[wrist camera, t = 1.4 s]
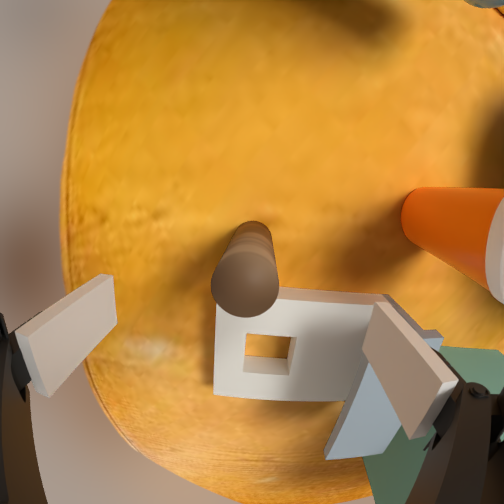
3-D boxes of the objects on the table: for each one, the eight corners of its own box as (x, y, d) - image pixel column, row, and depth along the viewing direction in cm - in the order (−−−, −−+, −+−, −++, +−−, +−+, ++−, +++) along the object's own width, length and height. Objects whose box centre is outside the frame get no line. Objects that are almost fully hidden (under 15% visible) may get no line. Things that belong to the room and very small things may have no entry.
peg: (235, 219, 29) (212, 250, 16) (273, 222, 29) (283, 257, 16) (232, 255, 30) (209, 313, 17) (269, 259, 30) (274, 320, 17)
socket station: (222, 272, 31) (198, 327, 19) (390, 286, 31) (444, 337, 18) (217, 382, 35) (201, 453, 23) (357, 388, 34) (382, 453, 22)
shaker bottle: (410, 266, 30) (524, 349, 11) (381, 202, 28) (519, 238, 9) (458, 229, 28) (577, 276, 9) (434, 166, 27) (569, 171, 7)
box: (356, 438, 38) (389, 560, 12) (415, 342, 33) (513, 479, 7) (444, 430, 38) (489, 514, 13) (497, 349, 33) (573, 428, 8)
